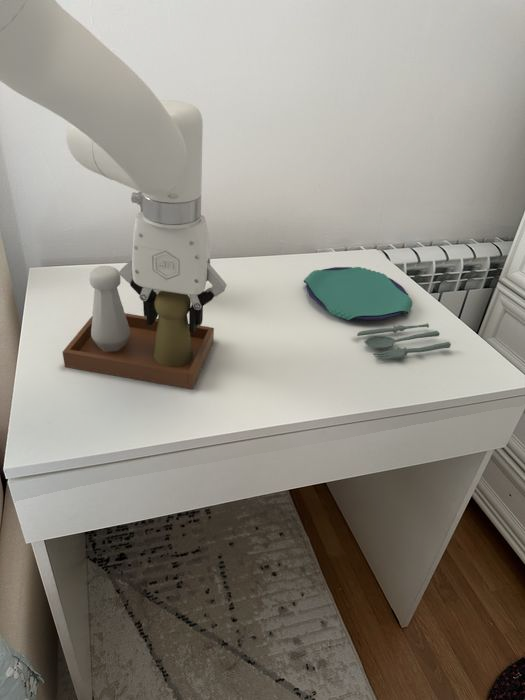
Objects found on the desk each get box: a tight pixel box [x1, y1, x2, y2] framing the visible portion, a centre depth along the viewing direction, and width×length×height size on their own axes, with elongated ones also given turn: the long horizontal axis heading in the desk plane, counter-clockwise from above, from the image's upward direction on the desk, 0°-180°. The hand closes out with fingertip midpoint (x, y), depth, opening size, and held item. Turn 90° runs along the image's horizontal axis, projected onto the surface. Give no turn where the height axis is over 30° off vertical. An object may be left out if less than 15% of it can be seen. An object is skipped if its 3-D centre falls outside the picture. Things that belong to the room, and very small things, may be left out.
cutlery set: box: [303, 266, 452, 361], centre depth 99 cm, size 20×30×2 cm, turn 19°
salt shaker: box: [89, 265, 130, 352], centre depth 80 cm, size 6×6×13 cm
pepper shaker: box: [154, 291, 193, 367], centre depth 79 cm, size 6×6×11 cm
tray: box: [62, 312, 215, 390], centre depth 83 cm, size 20×13×3 cm, turn 81°
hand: (173, 323), depth 79 cm, fingers open, 5 cm apart
